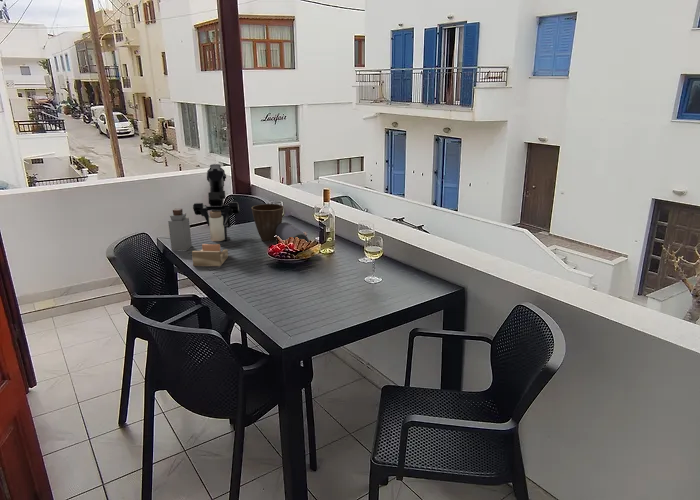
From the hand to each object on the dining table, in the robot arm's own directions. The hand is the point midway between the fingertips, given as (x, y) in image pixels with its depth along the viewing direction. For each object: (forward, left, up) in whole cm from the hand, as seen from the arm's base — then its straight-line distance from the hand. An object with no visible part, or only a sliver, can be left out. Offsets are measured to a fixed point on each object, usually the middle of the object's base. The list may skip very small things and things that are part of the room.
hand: (216, 225), depth 199 cm
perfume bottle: (-9, -20, -13) cm, 25 cm away
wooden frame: (+8, -1, -13) cm, 16 cm away
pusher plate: (+7, -1, -13) cm, 15 cm away
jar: (-1, 0, -7) cm, 7 cm away
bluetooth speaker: (-11, +30, -13) cm, 35 cm away
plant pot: (-24, +17, -13) cm, 32 cm away
